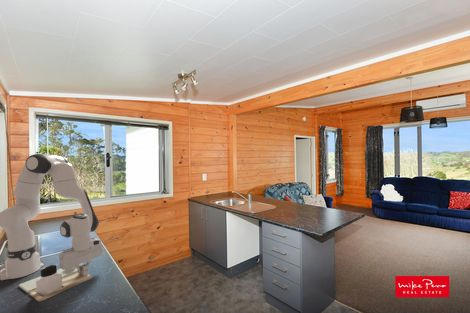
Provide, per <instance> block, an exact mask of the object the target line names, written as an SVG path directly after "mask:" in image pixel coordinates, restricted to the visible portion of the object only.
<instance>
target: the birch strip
mask: <svg viewBox="0 0 470 313" xmlns="http://www.w3.org/2000/svg"><path fill="white" fill-rule="evenodd" d="M78 267H79V268H82V271H81V272H76V273H74V274H72V275H69V276H67V277H64V278H62V288H61V289H58V290H56V291H54V292H52V293H49V294H47V295H45V296H40V295H39V294H38V293H37V290H36V289H35V290H33V291H31V292H29V293H28V294H29V296H31V297H32V298H33V299H35V300H36V301H38V302H39V303H40V302H43V301H45V300H47V299H49V298H51V297H53V296H57V295H59V294H60V293H63V292H65V291H67V290H70V289H72V288H74V287H76V286H78V285H80V284H82V283H84V282H87V281H89V280H91V279H93V275H91V274H90V273H89V268H88V266H87V265H86V263H85V264H84V262H83V263H81V264H79V266H78Z"/></svg>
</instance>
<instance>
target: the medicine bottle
mask: <svg viewBox="0 0 470 313" xmlns="http://www.w3.org/2000/svg"><path fill="white" fill-rule="evenodd" d="M57 270H58V269H57V265H55V264H51V265H46V266H45V267H41V268H40V276H41V278H40V279H38V280H36V290H37V293H38V294H39V295H40V296H42V297H43V296H45V295H47V294H49V293H52V292H54V291H56V290H58V289H61V288H62V274H57Z"/></svg>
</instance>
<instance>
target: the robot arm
mask: <svg viewBox="0 0 470 313" xmlns="http://www.w3.org/2000/svg"><path fill="white" fill-rule="evenodd" d="M46 175H50V177H51V178H52V184H53V189H54V193H55V194H56V195H58V196H59V197H61V198H64V199H69V200H75V201H77V202H78V203H79V204H80V207H81V210H82V213H77V214H74V215H72V216H71V217H70V218H69V219H67V220H64V221H63V222H62V223H61V225H60V227H59V231H60V235H61V236H62V237H63V238H68V239H69V238H71V248H68V249H64V250H62V252H60V253H59V254H58V258H59V269H63V270H65V269H68V268H70V267H73V266H75V267H76V269H77V272H81V271H82V268H79V267H78V266H79V264H81V263H83V264H84V263H85V262H86V263H85V265H87V266H88V269H89V268H90V264H91V262H92V260H93V259H96V258H98V257H101V256H103V254H104V248H103V244H102V240H101V239H100V238H94V237H92V235H91V233H93V232H95V231H96V230H97V228H98V227H99V224H100V223H99V222H100V221H99V218H98V216H97V214H96V213H95V211H94V207H93V205H92V203H91V200H90V197H89V195H88V193H87V191H86V190H85V188H82V186H80V184H79V183H78V179H77V175H76V171H75V168H74V166H73V165H72V163H70V161H69V159H68V158H66V157H65V156H62V155H55V154H41V153H35V154H32V155H30V156H27V158H26V160H25V164H24V165H23V167H22V169H21V170H20V172H19V173H18V176H17V180H16V183H15V187H14V190H13V195H14V196H15V203H14V205H13V206H9V207H8V208H5V209H3V210H2V211H1V212H0V228H2V229H3V230H4V232H5V234H6V238H7V244H8V245H7V247H8V248H7V250H8V251H7V254H6V255H7V256H6V257H7V258H6V259H5V261H4V264H1V265H0V281H6V280H13V279H19V278H23V277H26V276H30V275H32V274H34V273H36V272H38V270H41V269H42V268H43V266H44V265H45V264H44V263H42V262H41V257H40V255H41V254H40V252H38V251H37V246H36V244H35V231H34V230H32V229H31V228H30V226H29V222H30V221H32V220H33V219H35V218H37V217H38V215H39V214H40V213H41V206H40V205H39V195H40V192H41V188H42V184H43V181H44V178H45V177H46Z"/></svg>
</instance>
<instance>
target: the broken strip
mask: <svg viewBox="0 0 470 313" xmlns="http://www.w3.org/2000/svg"><path fill="white" fill-rule="evenodd" d="M76 272H77V268H76V267H75V266H73V267H70V268H68V269H65V270H63V269H61V268H59V269H57V274H62V278H64V277H67V276H69V275H72V274H74V273H76ZM40 278H41V275H40V276H38V277H35V278H31V279H30V280H27V281H25V282H22V283H20V284H18V287H19V288H20V289H21V290H23V291H24V292H26V294H29V292H31V291H33V290H35V289H36V280H38V279H40Z"/></svg>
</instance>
